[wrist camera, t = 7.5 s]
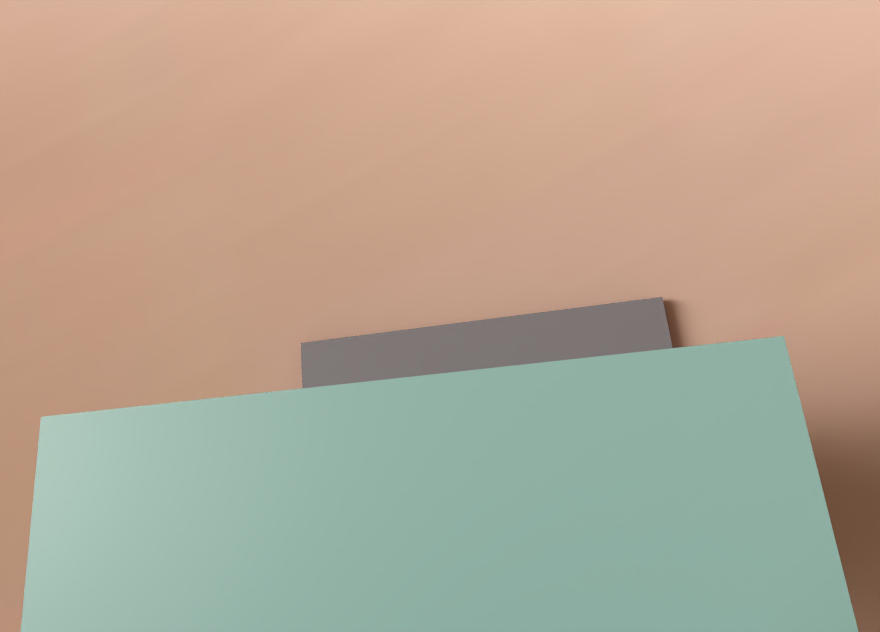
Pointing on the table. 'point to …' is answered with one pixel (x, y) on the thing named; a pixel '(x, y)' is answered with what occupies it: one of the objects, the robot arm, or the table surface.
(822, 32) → the table surface
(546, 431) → the teal tall block
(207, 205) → the table surface
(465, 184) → the table surface
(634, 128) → the table surface
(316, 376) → the mat
